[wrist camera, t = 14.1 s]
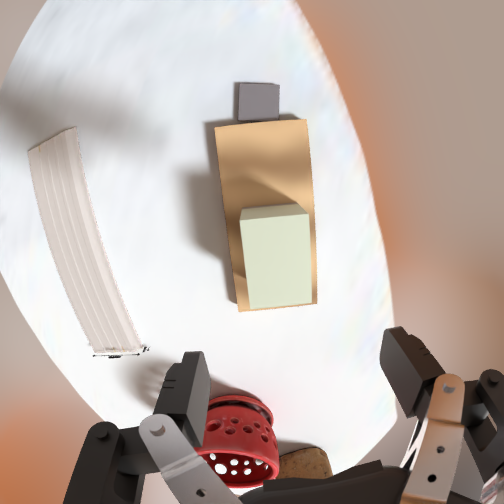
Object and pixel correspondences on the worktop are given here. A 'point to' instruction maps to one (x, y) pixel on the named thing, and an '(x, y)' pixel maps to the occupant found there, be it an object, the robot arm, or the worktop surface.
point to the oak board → (264, 183)
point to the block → (305, 464)
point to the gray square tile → (258, 102)
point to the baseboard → (79, 245)
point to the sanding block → (277, 255)
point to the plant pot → (240, 440)
